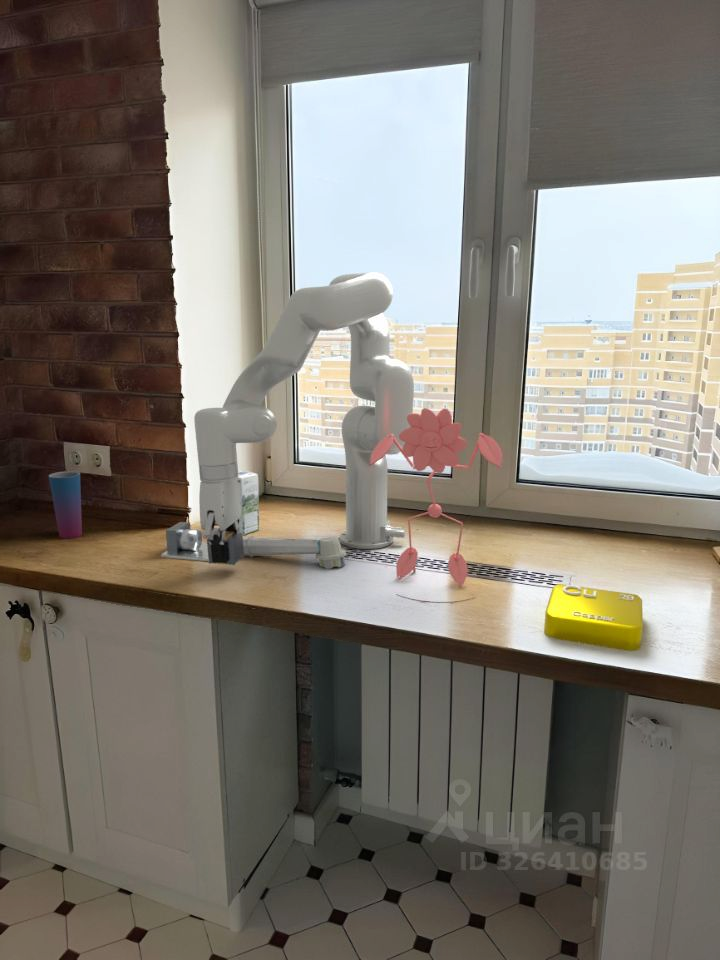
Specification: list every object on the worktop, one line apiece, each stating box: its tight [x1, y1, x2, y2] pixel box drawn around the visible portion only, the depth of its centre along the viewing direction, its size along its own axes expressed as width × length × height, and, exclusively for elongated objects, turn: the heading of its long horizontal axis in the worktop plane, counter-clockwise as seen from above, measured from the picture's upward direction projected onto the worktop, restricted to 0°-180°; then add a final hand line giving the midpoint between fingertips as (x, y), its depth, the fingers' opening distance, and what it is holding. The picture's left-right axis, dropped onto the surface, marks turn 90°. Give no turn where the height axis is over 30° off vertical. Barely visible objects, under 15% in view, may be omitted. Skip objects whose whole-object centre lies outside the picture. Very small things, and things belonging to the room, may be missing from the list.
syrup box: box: [237, 470, 260, 536], centre depth 164 cm, size 6×6×14 cm
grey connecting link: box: [243, 535, 347, 569], centre depth 146 cm, size 5×7×25 cm
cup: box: [48, 470, 83, 539], centre depth 161 cm, size 7×7×15 cm
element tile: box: [543, 583, 644, 652], centre depth 115 cm, size 15×15×5 cm
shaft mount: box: [160, 521, 209, 562], centre depth 150 cm, size 15×9×6 cm, turn 76°
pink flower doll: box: [370, 408, 503, 605], centre depth 127 cm, size 15×26×35 cm, turn 70°
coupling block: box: [206, 531, 245, 566], centre depth 138 cm, size 6×5×5 cm
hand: (226, 556), depth 138 cm, fingers closed on coupling block, 5 cm apart
